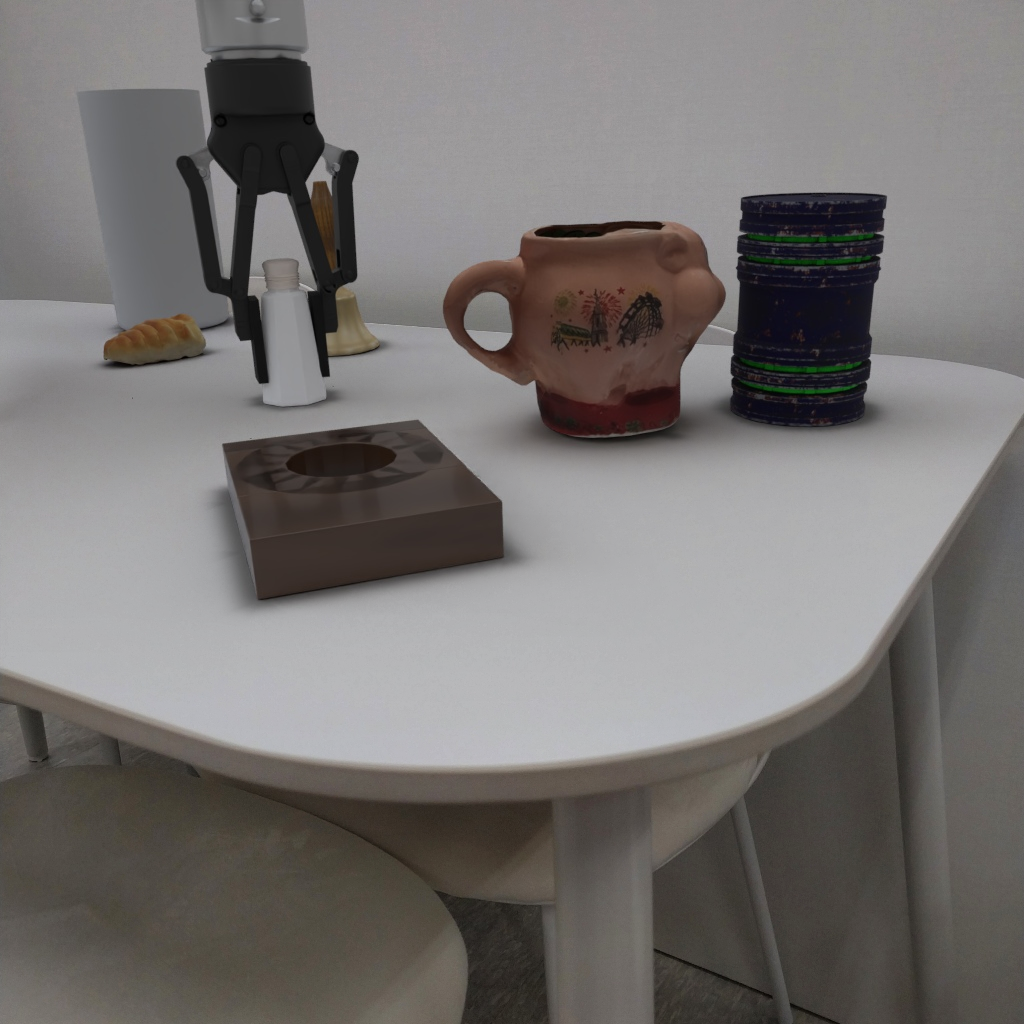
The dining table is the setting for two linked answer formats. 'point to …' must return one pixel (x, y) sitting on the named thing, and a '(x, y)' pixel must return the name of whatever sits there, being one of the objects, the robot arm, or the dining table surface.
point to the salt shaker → (289, 338)
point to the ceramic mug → (597, 321)
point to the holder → (356, 507)
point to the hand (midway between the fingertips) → (292, 376)
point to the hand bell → (350, 324)
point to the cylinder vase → (149, 202)
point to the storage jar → (805, 306)
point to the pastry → (157, 341)
